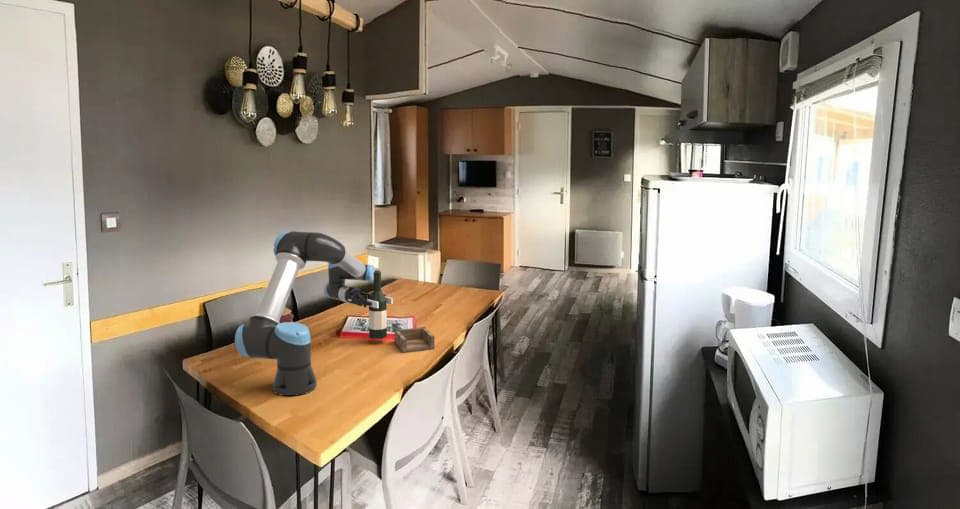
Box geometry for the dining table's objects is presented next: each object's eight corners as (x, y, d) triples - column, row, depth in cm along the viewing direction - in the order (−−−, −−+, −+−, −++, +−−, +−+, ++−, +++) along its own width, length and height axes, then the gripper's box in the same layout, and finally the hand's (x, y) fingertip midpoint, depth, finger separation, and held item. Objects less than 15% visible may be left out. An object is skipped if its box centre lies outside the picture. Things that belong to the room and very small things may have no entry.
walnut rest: (434, 349, 244) (434, 336, 243) (403, 353, 238) (403, 340, 237) (424, 339, 257) (424, 326, 255) (394, 342, 251) (394, 330, 250)
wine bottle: (383, 339, 246) (382, 273, 240) (365, 338, 247) (364, 271, 242) (390, 333, 254) (389, 269, 248) (372, 332, 255) (372, 268, 250)
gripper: (367, 298, 267) (401, 306, 254) (332, 307, 251) (367, 316, 237) (367, 283, 266) (401, 290, 252) (332, 290, 249) (367, 299, 236)
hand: (385, 303), depth 245 cm, fingers closed on wine bottle, 8 cm apart
